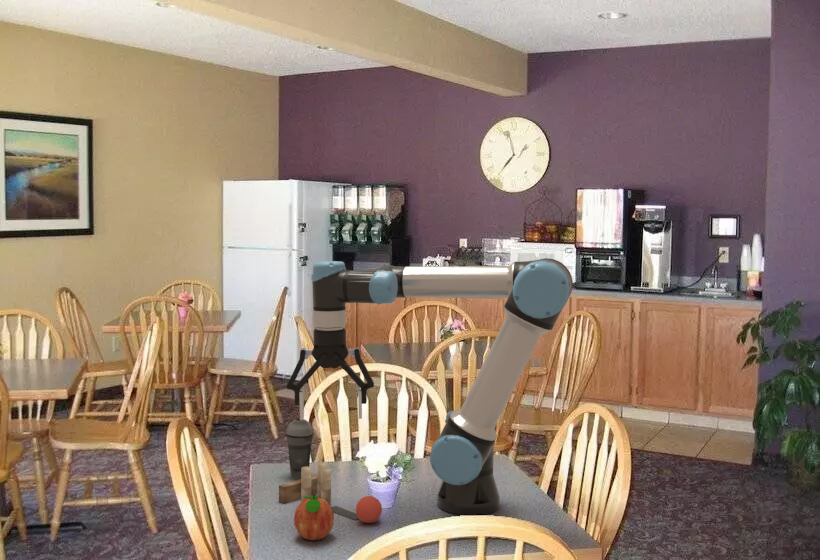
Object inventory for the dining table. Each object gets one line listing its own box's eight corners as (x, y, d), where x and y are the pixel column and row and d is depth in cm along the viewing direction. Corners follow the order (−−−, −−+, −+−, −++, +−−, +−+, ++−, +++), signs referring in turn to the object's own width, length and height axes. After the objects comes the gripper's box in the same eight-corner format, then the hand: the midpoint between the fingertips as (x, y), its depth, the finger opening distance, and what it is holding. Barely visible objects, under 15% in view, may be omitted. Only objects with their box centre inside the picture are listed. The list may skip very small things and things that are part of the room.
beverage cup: (298, 470, 244) (299, 398, 242) (319, 476, 240) (319, 402, 238) (279, 477, 238) (280, 403, 237) (300, 482, 234) (300, 407, 232)
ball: (386, 520, 208) (386, 494, 207) (374, 528, 202) (374, 502, 202) (362, 516, 210) (363, 491, 210) (350, 524, 205) (351, 498, 204)
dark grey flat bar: (364, 517, 210) (364, 516, 210) (355, 520, 207) (355, 519, 207) (335, 506, 216) (335, 505, 216) (326, 509, 214) (326, 508, 214)
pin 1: (313, 503, 218) (313, 467, 218) (308, 506, 216) (308, 469, 215) (304, 502, 219) (304, 465, 219) (299, 505, 217) (299, 468, 216)
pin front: (332, 505, 217) (332, 469, 216) (327, 508, 215) (328, 471, 214) (323, 504, 218) (324, 467, 217) (319, 507, 216) (319, 470, 215)
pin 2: (328, 498, 222) (328, 463, 221) (323, 501, 220) (324, 465, 219) (320, 497, 223) (320, 461, 222) (315, 500, 221) (315, 464, 220)
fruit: (334, 530, 201) (335, 486, 200) (332, 546, 192) (332, 500, 191) (296, 530, 201) (296, 486, 200) (291, 546, 192) (291, 500, 191)
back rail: (316, 490, 228) (316, 475, 228) (321, 492, 227) (321, 476, 226) (278, 501, 220) (278, 485, 219) (283, 503, 218) (283, 487, 218)
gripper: (383, 324, 213) (384, 413, 215) (277, 326, 212) (279, 415, 214) (383, 329, 206) (384, 420, 208) (273, 331, 205) (275, 422, 207)
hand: (331, 418), depth 211 cm, fingers open, 13 cm apart
